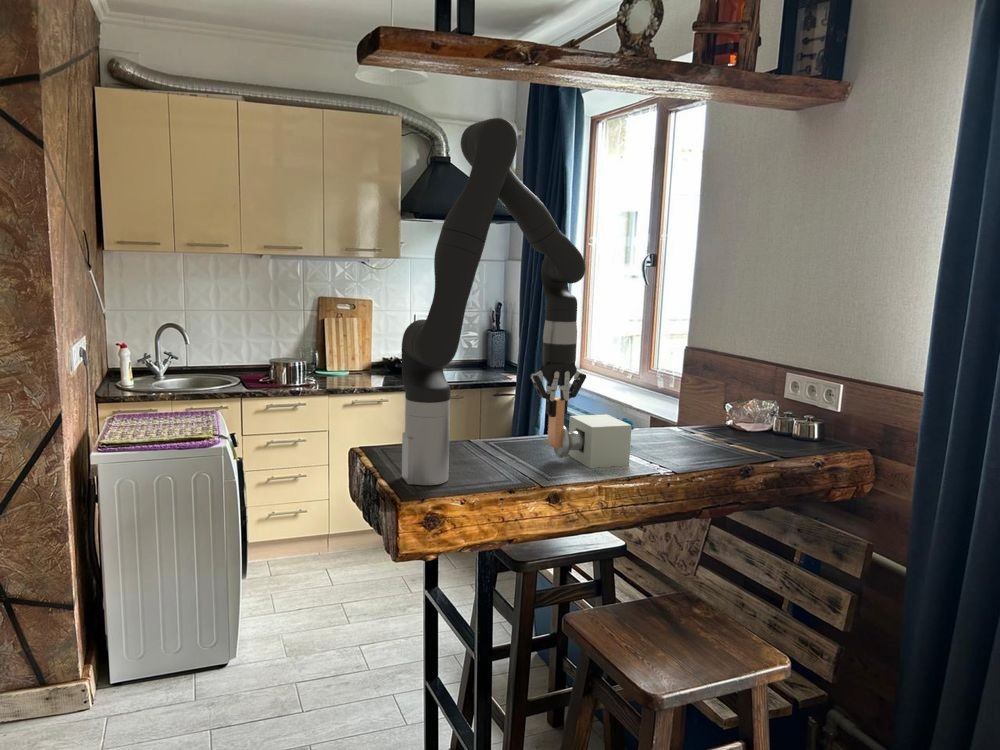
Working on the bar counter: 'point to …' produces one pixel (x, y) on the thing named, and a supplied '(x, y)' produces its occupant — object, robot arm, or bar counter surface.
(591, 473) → the bar counter surface
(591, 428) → the block
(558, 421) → the wood and metal l-shape
